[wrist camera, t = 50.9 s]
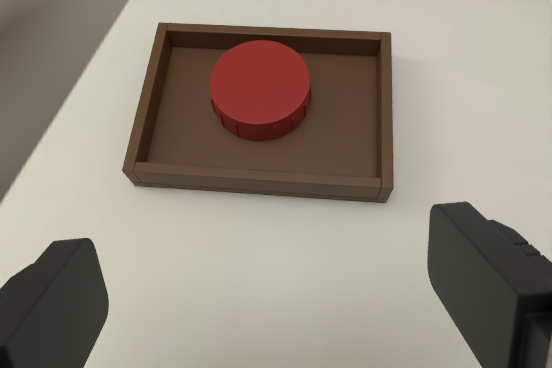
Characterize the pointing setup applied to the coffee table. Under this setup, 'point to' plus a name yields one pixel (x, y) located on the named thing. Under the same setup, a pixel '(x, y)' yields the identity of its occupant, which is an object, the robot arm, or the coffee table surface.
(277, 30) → the tray
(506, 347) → the robot arm
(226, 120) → the lid
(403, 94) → the coffee table surface
